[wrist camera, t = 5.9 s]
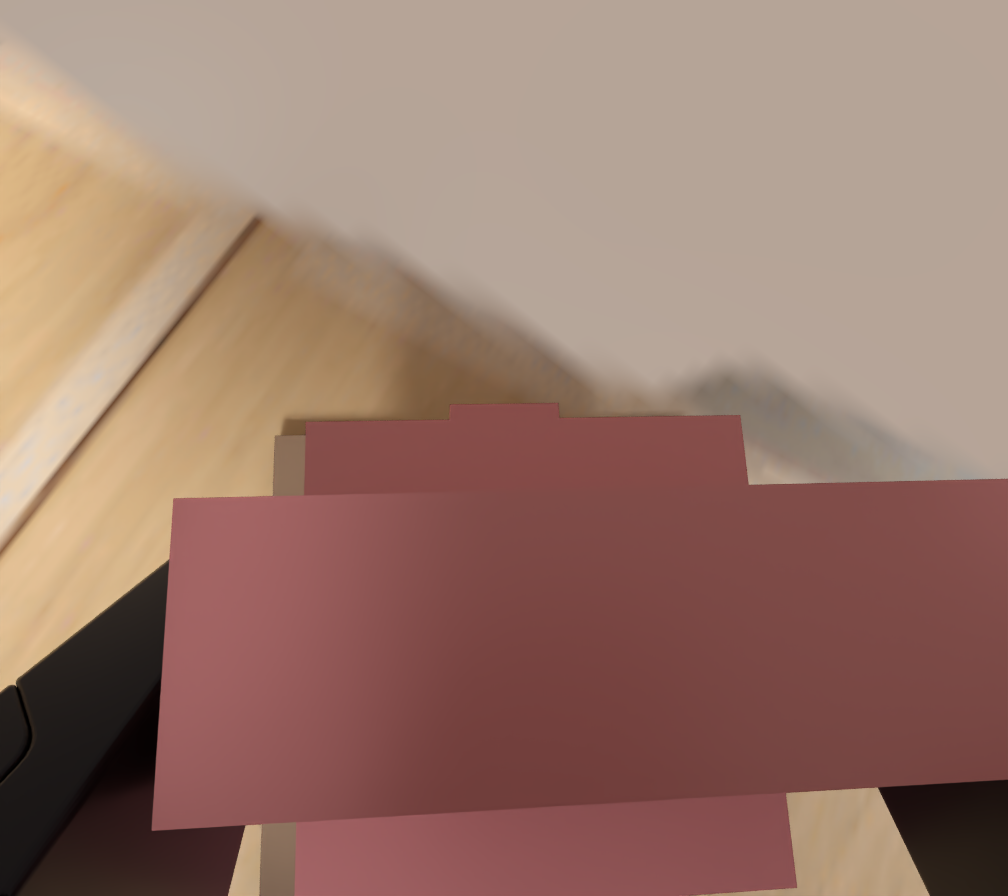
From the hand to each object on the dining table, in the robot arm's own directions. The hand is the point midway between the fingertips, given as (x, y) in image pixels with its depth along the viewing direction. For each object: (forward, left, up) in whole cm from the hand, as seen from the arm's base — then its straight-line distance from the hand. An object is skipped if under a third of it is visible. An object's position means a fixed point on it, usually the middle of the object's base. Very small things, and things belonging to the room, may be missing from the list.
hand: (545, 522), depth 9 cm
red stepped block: (-1, +1, -6) cm, 6 cm away
